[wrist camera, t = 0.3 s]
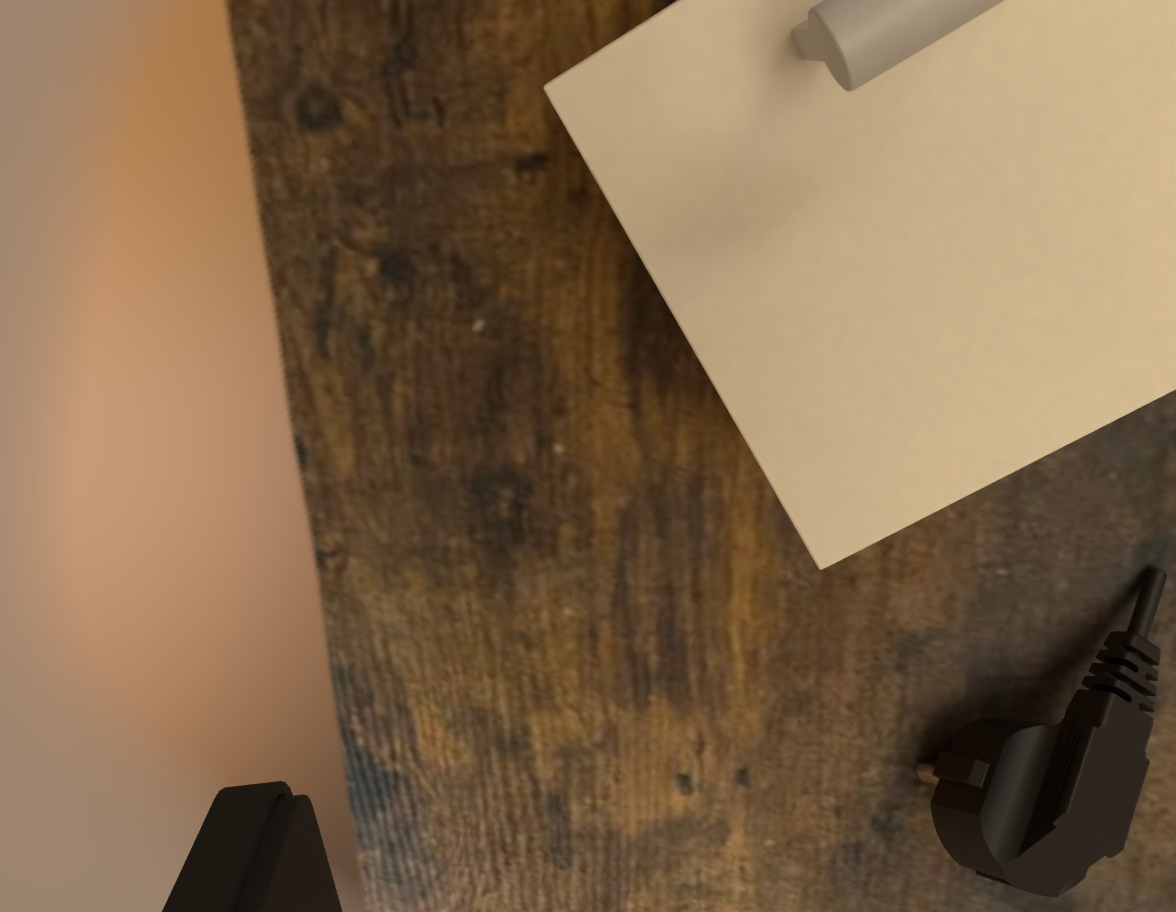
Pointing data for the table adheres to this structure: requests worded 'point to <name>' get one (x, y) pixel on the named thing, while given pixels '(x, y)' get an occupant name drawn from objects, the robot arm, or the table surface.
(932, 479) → the lid
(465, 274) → the table surface
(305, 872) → the robot arm
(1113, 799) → the power plug
